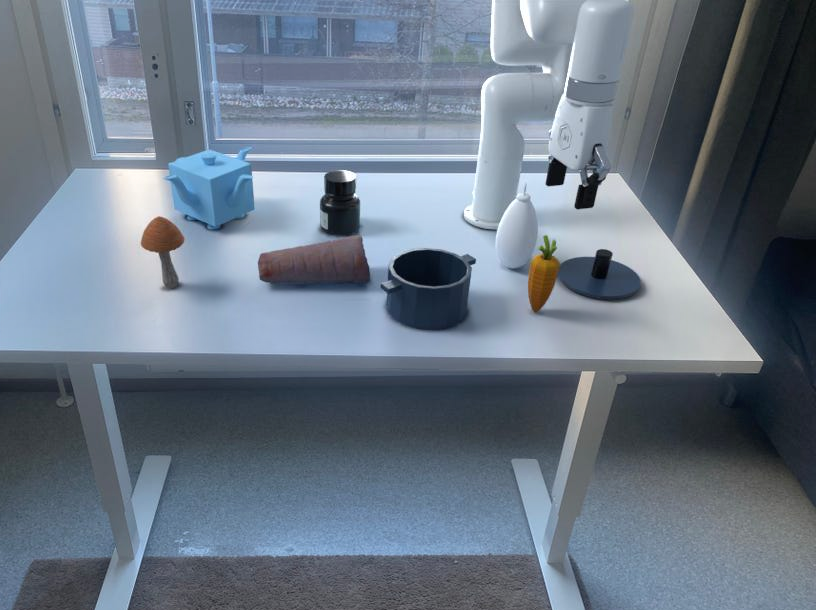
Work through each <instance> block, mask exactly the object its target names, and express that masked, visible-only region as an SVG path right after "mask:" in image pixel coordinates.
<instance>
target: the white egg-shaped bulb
mask: <svg viewBox="0 0 816 610" xmlns="http://www.w3.org/2000/svg"><path fill="white" fill-rule="evenodd" d="M526 192H527V182H525V183H524V185H523V190H522V192H520V193H517V196H516V199H515V200H514V201H513V202H512V203H511V204H510V205H509V207H508V208H507V210H506V211H505V213H504V215H503V217H502V219H501V221H500V224H499V227H498V230H496V236H495V252H496V255H497V258H498V261H499V262H500V263H501V264H503V266H504V267H506V268H508V269H519V268H520V267H523V266H524V265H526V264H527V262H528V261H529V260H530V258H531V257H532V255H533V254H534V251H535V248H536V246H537V241H538V232H539V229H538V227H539V225H538V217H537V212H536V209H535V206H534V204H533V202H532V200H531V195H530V194H528V193H526Z"/></svg>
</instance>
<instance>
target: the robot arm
mask: <svg viewBox="0 0 816 610" xmlns="http://www.w3.org/2000/svg"><path fill="white" fill-rule="evenodd" d="M634 15H635V8H634V5H633V4H632V3H631V2H630V1H628V0H492V3H491V27H490V55H491V59H492V60H493V62H494V63H496V64H498V65H501V66H509V67H510V66H512V67H516V66H518V67H519V66H522V67H523V66H541V69H542V72H504V73H498V74H495V75H492V76H490V77H489V78H488V79H487V80H486V81H485V82H484V83H483V84H482V88H481V93H480V107H481V108H480V109H481V111H480V113H481V119H480V120H481V123H480V124H481V125H480V126H481V127H480V136H479V147H478V155H477V163H476V170H475V176H474V177H475V179H474V186H473V191H472V192H471V195H472V202H471V204H470V205H468V206H467V207H466V208H465V209H464V211H463V217H464V219H465V220H466V222H468V223H469V224H471V225H472V226H473V227H477V228H481V229H486V230H495V231H497V230H498V227H499V224H500V221H501V219H502V217H503V215H504V213H505V211H506V210H507V208H508V207H509V205H510V204H511V203H512V202H513V201H514V200H515V199H516V196H517V195H518V192H519V191H518V190H519V184H520V178H521V172H522V166H523V160H524V155H525V154H524V153H525V148H526V147H525V138H524V136H523V134H522V133H521V131H520V130H519V129H518V127H517V124H520V123H533V122H553V124H552V128H551V129H550V130H549V131H548V140H549V142H548V147H547V149H548V152H549V155H548V157H547V158H548V159H547V160H548V162H549V164H548V167H547V174H546V178H545V186H546V187H558V186H563V185H564V184H565V179H566V176H567V175H566V174H567V170H568V169H570V170H571V171H574V172H578V171H579V175H580V180H581V181H580V182H581V184H578V187H577V191H576V196H575V200H574V206H573V207H574V209H575V210H587V209H593V208H594V206H595V203H596V198H597V194H598V189H599V186H601V185H602V183H603V182H604V181H605V180H606V178H607V176H608V174H609V172H610V171H611V170H612V164H611V162H610V160H609V158H608V155H607V153H608V152H607V151H608V147H609V146H608V145H609V142H610V136H611V131H612V122H613V109H614V105H613V104H614V103H615V100H616V96H617V91H618V87H619V82H620V78H621V73H622V68H623V65H624V60H625V56H626V52H627V47H628V42H629V38H630V34H631V29H632V26H633V20H634ZM588 172H592V174H591V175H590V176H589V174H588Z"/></svg>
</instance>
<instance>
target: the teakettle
mask: <svg viewBox="0 0 816 610" xmlns="http://www.w3.org/2000/svg"><path fill="white" fill-rule="evenodd" d="M251 150H252V146H246V147H244V148H242V149H240V151H238V152H237V153H238V154H237V155H236V158H235V157H233V156H230V155H227V154H224V153H221V152H218V151H216V150H212V149H210V148H209V149H206V150H203V151H201V152H197V153H195V154H192V155H189V156H182V157H178V158H177V159H176V160H175V161H172V162H169V163H168V164H167V167H168V172H169V175H167V176H164V177H163V180H165V181H169V182H170V187H171V194H172V201H173V208H174V210H176V211H178V212H180V213H183V214H185V215H187V216H186V220H188V221H196V220H198V221H200V222H203V223H206V224H207V229H209V230H218V229H220V228H221V225H223V224H225V223H228V222H229V221H232V220H234V219H235V220H241V219H243V218H244V217H245V215H246V214H247V213H250V212H253V211H254V210H255V196H254V195H255V193H254V182H253V179H254V176H253V169H252V164H251V163H250V162H247V161H246V159H247V158H246V157H247V156H248V153H250V151H251Z"/></svg>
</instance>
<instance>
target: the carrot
mask: <svg viewBox="0 0 816 610" xmlns="http://www.w3.org/2000/svg"><path fill="white" fill-rule="evenodd" d="M542 238H543V243H544V245H542V244H540V245H539V246H538V247H537V250H538V251H540V252H541V254H540V253H539V254H536V255H535V256H534V257H533V258H532V259H531V261H530V264H529V269H528V270H529V271H528V279H527V298H528V302H529V305H530V307H531V310H532V311H533V313H534V314H537V313H538V312H540V311H541V309H542V308H544V306H545V305H546V303H547V301H548V300H549V299H550V296H551V295H552V292H553V290H554V288H555V285H556V282H557V279H558V271H559V267H560V264H561V263H560V261H559V260H558V259H557V257H556V256H554V255H553V254H555V251H556V250H557V249H558V246H557V241H556V240H555V239H552V240H551V245H550V240H549V236H548V235H547V234H544V235H542Z"/></svg>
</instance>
